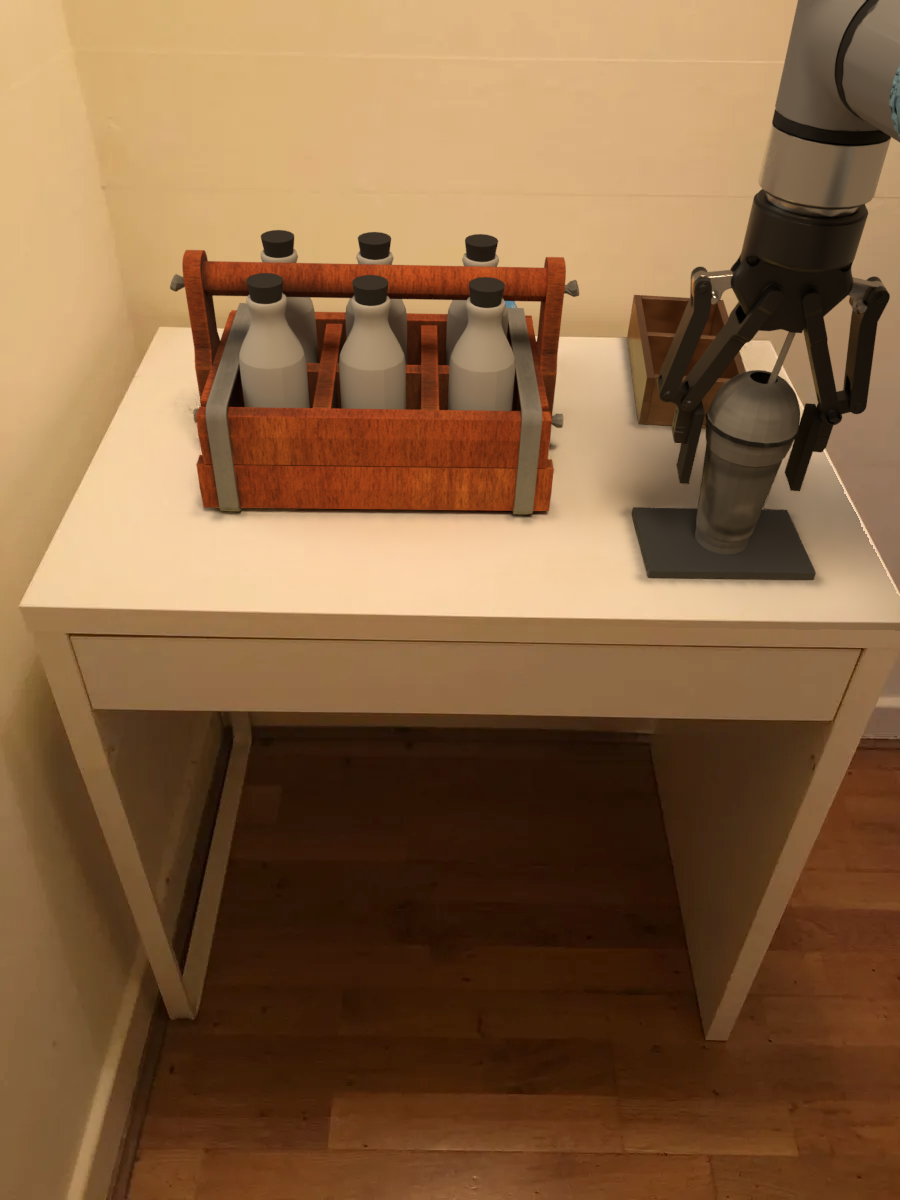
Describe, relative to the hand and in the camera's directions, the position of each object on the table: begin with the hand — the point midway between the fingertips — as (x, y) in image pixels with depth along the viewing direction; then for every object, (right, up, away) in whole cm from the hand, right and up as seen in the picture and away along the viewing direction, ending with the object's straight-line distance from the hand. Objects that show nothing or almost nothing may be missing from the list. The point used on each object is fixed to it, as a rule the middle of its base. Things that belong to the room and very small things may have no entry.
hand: (737, 477), depth 81 cm
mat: (0, -5, +5) cm, 7 cm away
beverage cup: (0, -5, +4) cm, 7 cm away
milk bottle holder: (-30, +4, +14) cm, 34 cm away
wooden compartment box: (+1, +14, +27) cm, 30 cm away
